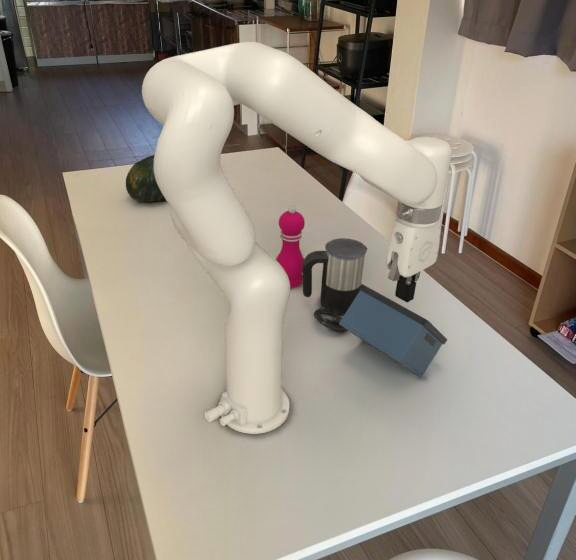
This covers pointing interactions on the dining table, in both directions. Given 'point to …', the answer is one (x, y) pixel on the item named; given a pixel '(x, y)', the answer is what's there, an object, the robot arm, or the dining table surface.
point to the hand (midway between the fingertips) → (404, 297)
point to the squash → (143, 182)
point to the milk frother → (336, 278)
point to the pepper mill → (291, 245)
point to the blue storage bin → (393, 330)
